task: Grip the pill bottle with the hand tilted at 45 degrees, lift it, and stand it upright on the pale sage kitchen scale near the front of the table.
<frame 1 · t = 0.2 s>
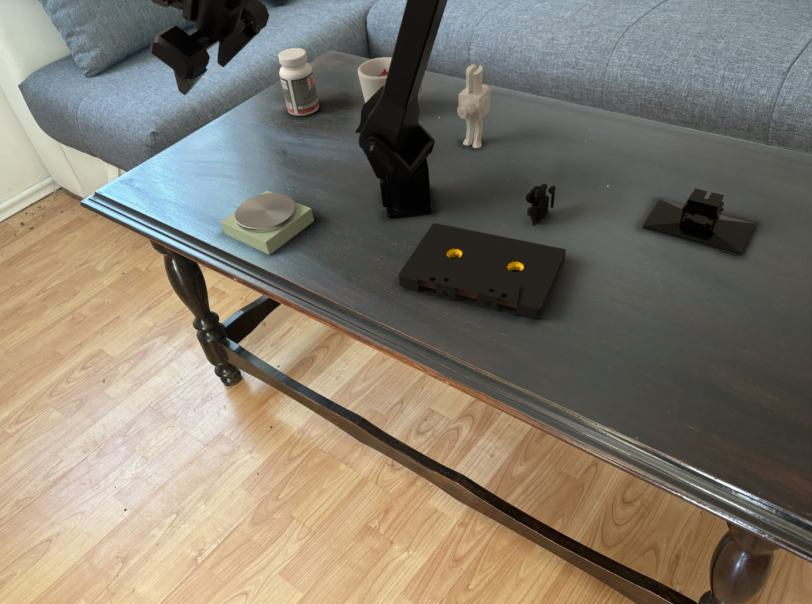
hand: (202, 78, 94), 15 cm above the table, tool tilted 35°, fingers open, 9 cm apart
pill bottle: (303, 110, 117), on the table
cup: (394, 113, 114), on the table
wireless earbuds: (535, 219, 90), on the table
toy robot: (474, 143, 105), on the table
cassette tape: (482, 275, 83), on the table
build plate: (697, 228, 86), on the table
scale: (269, 227, 93), on the table
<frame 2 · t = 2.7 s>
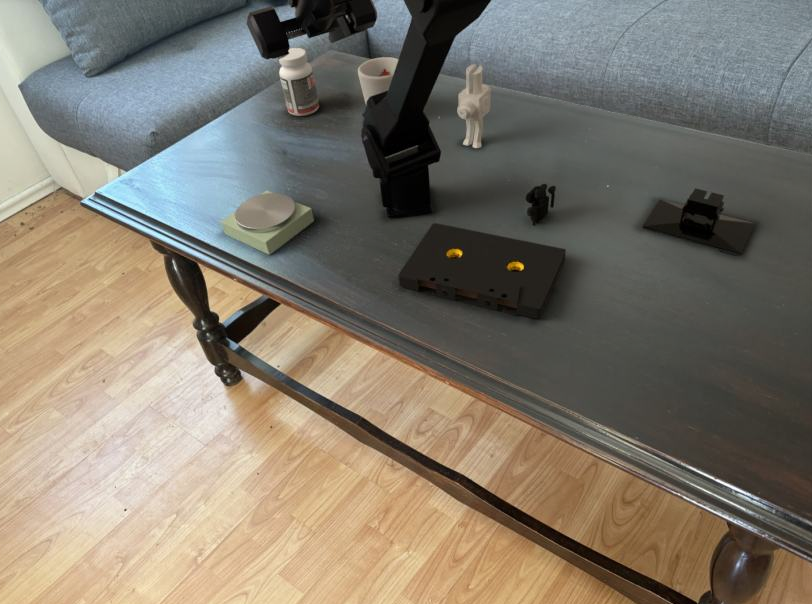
hand: (304, 47, 104), 13 cm above the table, tool tilted 45°, fingers open, 9 cm apart
nothing on the table moved.
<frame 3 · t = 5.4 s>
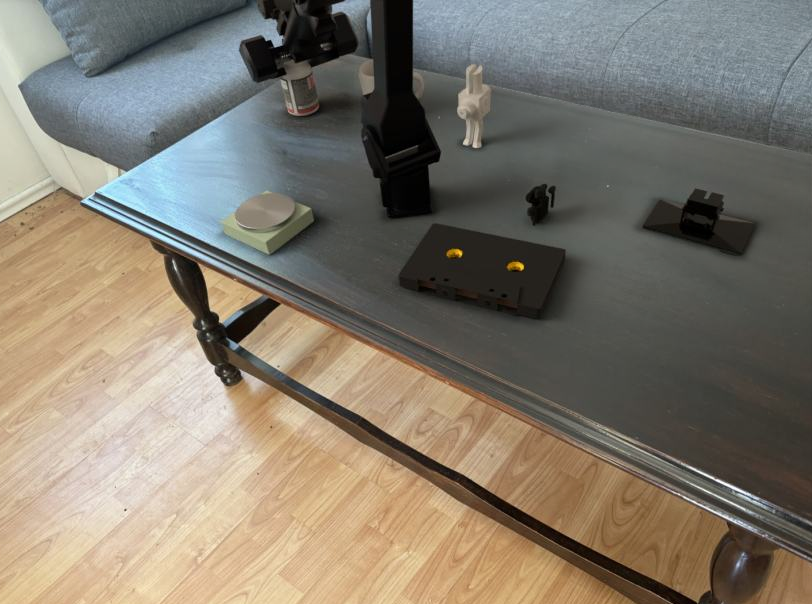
hand: (293, 70, 113), 7 cm above the table, tool tilted 45°, fingers closed on pill bottle, 6 cm apart
pill bottle: (303, 110, 117), on the table, touching gripper
everything else where it was.
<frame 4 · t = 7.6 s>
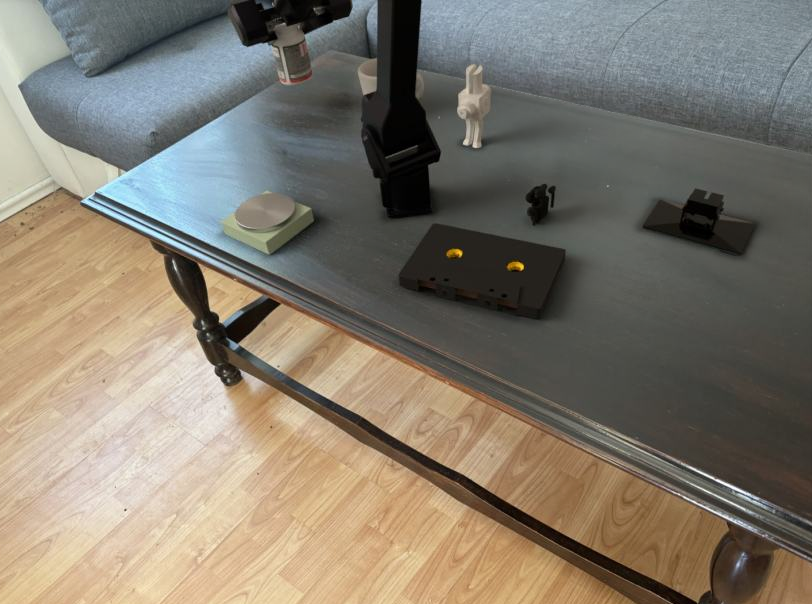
hand: (285, 37, 109), 12 cm above the table, tool tilted 45°, fingers closed on pill bottle, 6 cm apart
pill bottle: (296, 80, 113), point 5 cm above the table, touching gripper
everything else where it was.
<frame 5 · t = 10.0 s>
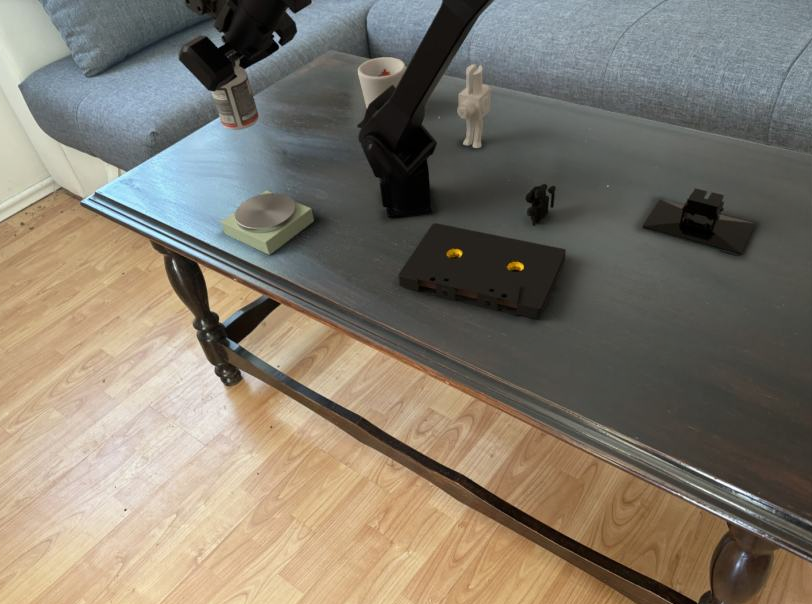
hand: (221, 78, 96), 14 cm above the table, tool tilted 45°, fingers closed on pill bottle, 6 cm apart
pill bottle: (241, 123, 100), point 7 cm above the table, touching gripper
everything else where it was.
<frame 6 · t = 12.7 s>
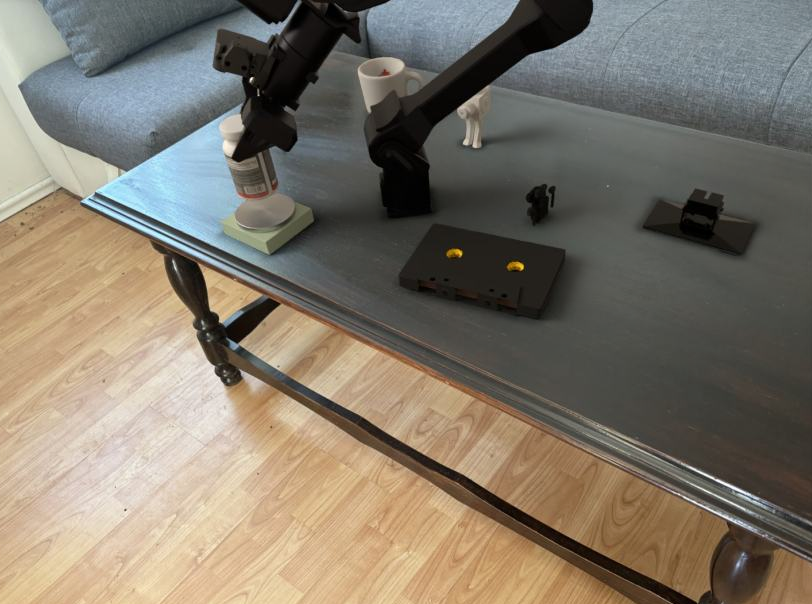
hand: (235, 148, 84), 12 cm above the table, tool tilted 45°, fingers closed on pill bottle, 6 cm apart
pill bottle: (259, 191, 89), point 6 cm above the table, touching gripper
everything else where it was.
when the fingers open (10 cm above the table, at t = 14.8 s): pill bottle stays where it is, resting on scale.
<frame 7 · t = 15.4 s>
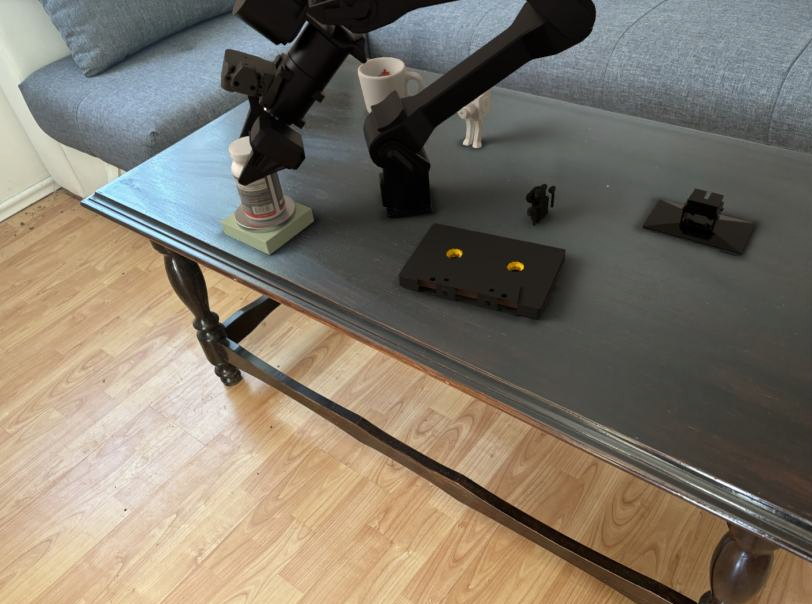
hand: (240, 165, 85), 10 cm above the table, tool tilted 45°, fingers open, 9 cm apart
pill bottle: (266, 211, 91), point 3 cm above the table, touching scale
everything else where it was.
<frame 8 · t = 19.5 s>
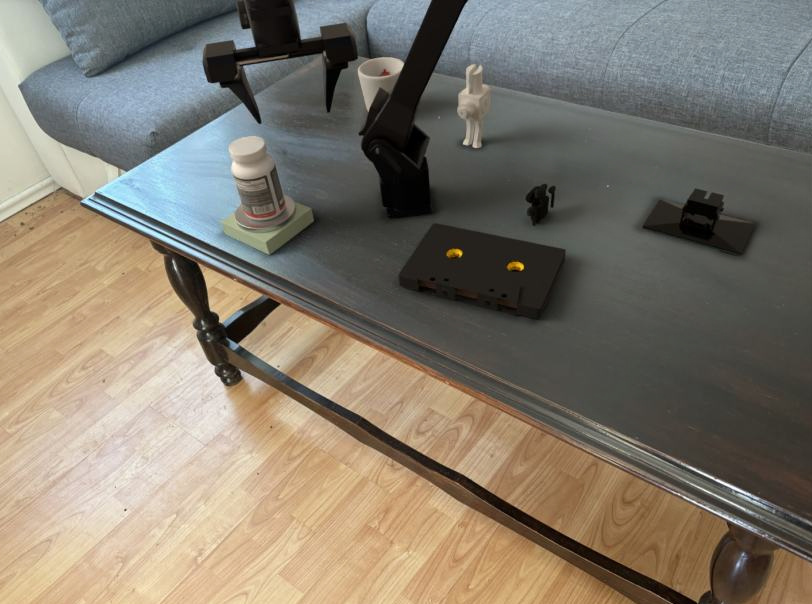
hand: (294, 116, 88), 13 cm above the table, tool pointing down, fingers open, 9 cm apart
nothing on the table moved.
at the end: pill bottle 0.1 cm off-centre on the scale, point 2.8 cm above the scale's base; pill bottle tilted 0° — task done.
